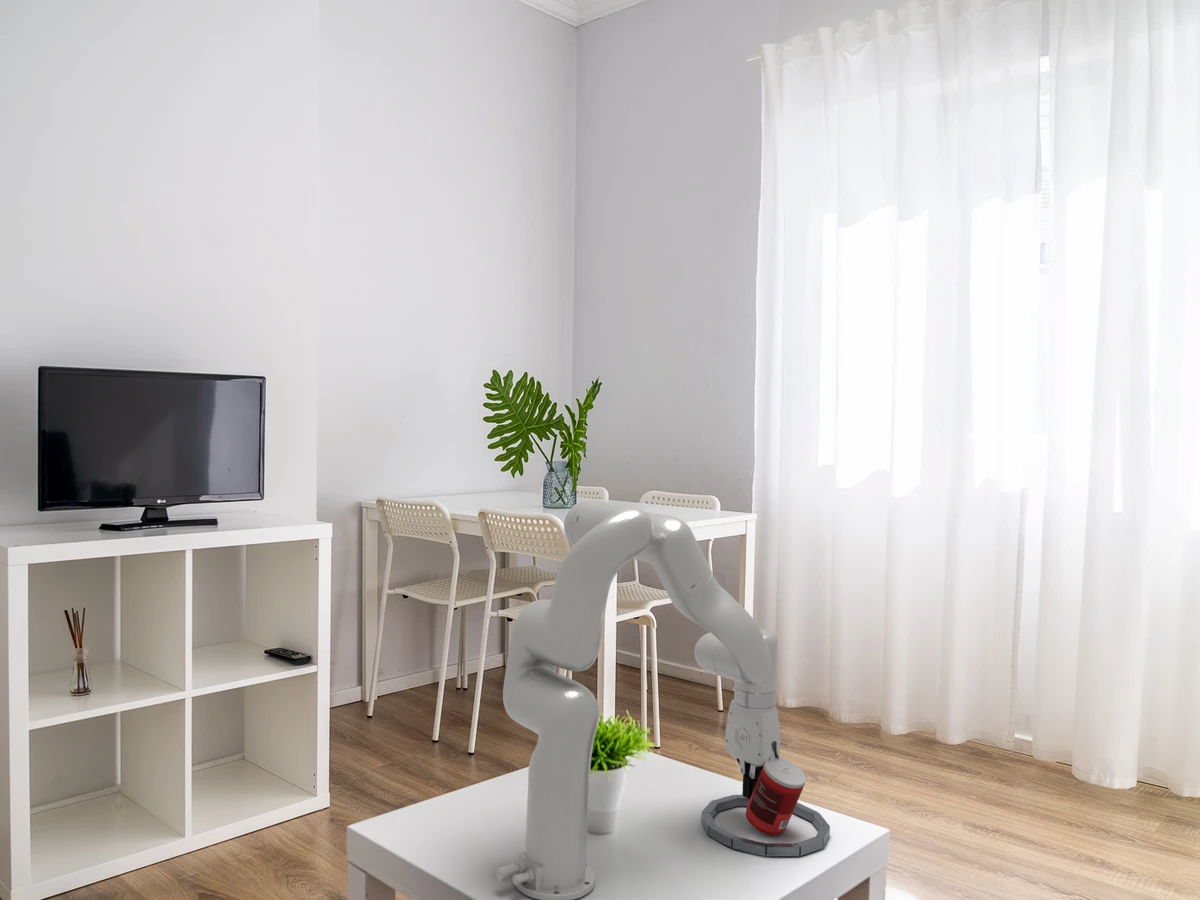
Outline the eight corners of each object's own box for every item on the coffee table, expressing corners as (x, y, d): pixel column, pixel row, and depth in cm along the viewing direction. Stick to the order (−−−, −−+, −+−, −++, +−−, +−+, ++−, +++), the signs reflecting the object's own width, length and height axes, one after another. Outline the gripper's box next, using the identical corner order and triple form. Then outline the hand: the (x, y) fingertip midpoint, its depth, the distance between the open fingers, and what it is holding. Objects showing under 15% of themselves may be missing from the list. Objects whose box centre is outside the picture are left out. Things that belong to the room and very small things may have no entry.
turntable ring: (766, 867, 151) (767, 849, 151) (678, 817, 169) (678, 801, 169) (853, 837, 164) (854, 820, 164) (763, 794, 181) (764, 779, 181)
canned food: (783, 814, 170) (804, 764, 167) (786, 842, 162) (808, 791, 159) (743, 801, 170) (763, 751, 168) (745, 828, 163) (766, 776, 160)
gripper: (711, 690, 173) (708, 786, 174) (770, 712, 161) (767, 815, 162) (740, 684, 178) (737, 778, 178) (800, 705, 166) (796, 806, 166)
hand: (751, 796), depth 170 cm, fingers closed
